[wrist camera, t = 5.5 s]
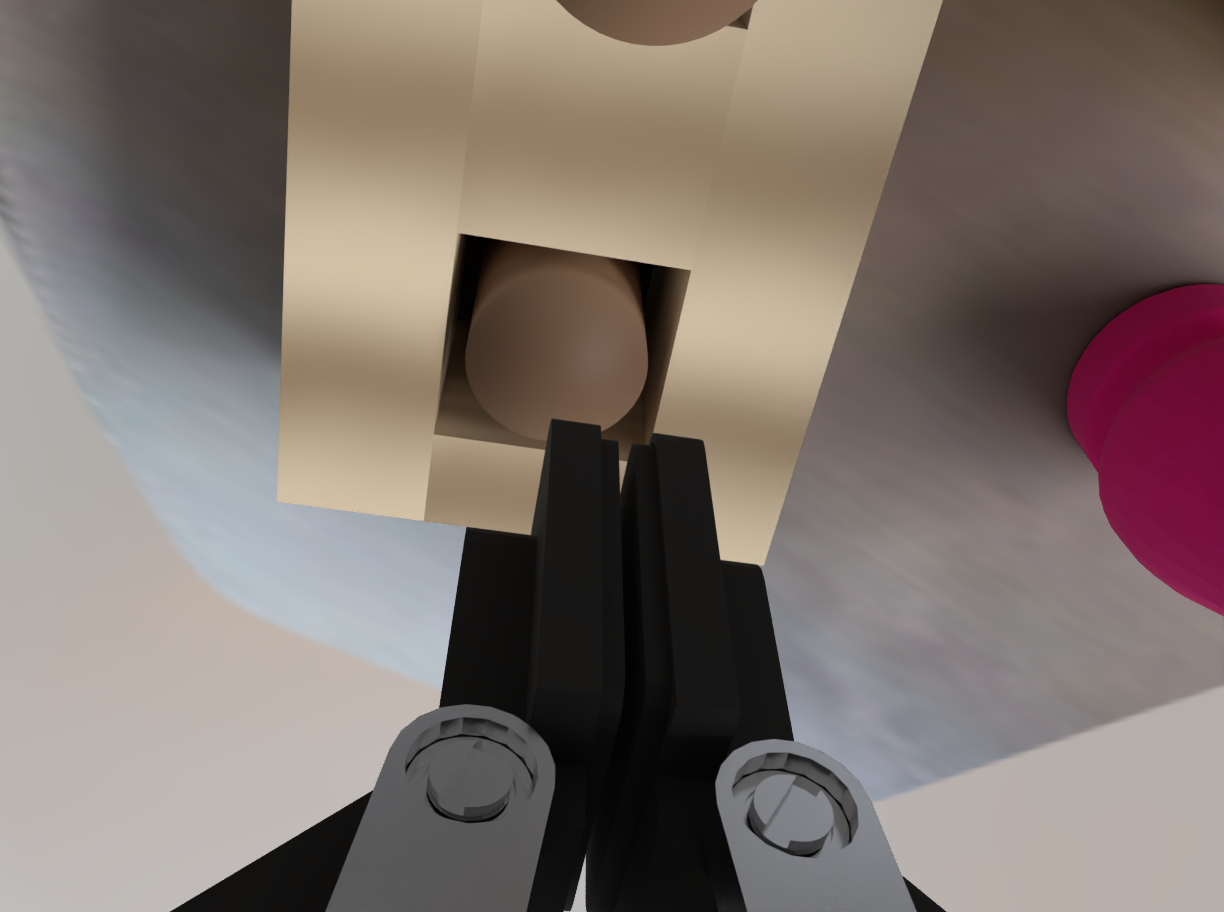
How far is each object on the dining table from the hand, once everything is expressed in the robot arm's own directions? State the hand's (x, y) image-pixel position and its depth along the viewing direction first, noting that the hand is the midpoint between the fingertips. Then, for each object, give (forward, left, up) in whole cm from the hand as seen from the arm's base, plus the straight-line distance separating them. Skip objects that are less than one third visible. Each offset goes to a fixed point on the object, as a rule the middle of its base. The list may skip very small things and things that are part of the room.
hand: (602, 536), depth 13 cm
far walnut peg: (+4, 0, -18) cm, 19 cm away
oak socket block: (-1, 0, -19) cm, 19 cm away
